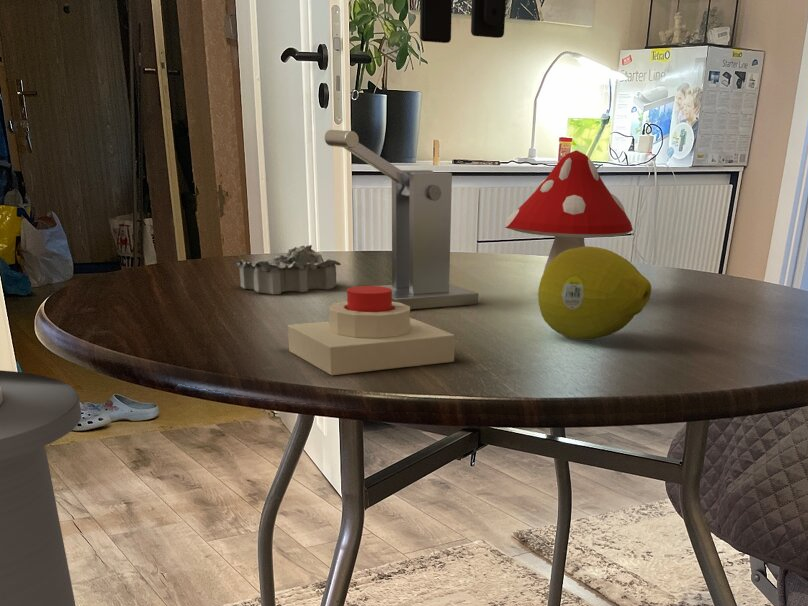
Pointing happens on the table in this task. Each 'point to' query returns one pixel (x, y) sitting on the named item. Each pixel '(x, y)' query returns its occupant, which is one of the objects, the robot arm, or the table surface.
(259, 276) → the egg carton
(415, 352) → the control block
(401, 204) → the grey lever stand
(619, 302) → the lemon
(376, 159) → the tap lever
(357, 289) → the button
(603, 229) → the decorative mushroom
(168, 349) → the table surface
